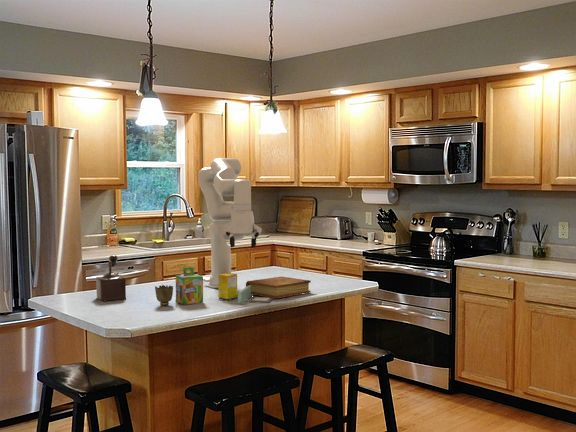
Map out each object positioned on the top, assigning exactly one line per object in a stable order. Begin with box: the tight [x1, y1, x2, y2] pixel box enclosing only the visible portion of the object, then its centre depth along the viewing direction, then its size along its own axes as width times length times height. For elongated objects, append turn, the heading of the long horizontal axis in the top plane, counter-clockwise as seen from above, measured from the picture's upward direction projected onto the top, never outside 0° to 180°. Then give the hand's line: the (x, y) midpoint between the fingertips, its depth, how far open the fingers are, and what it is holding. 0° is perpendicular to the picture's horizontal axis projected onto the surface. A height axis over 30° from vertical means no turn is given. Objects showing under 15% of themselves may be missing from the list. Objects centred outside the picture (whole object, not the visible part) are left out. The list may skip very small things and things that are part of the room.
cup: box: [154, 284, 174, 307], centre depth 264 cm, size 8×7×8 cm
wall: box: [235, 285, 254, 305], centre depth 275 cm, size 3×17×5 cm, turn 169°
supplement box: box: [218, 272, 238, 301], centre depth 278 cm, size 6×6×11 cm
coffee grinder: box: [95, 254, 127, 302], centre depth 281 cm, size 16×11×18 cm
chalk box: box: [175, 266, 204, 306], centre depth 270 cm, size 9×9×15 cm
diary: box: [245, 276, 311, 299], centre depth 290 cm, size 23×19×6 cm
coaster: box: [248, 296, 274, 304], centre depth 274 cm, size 9×9×1 cm
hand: (242, 247), depth 280 cm, fingers open, 9 cm apart
